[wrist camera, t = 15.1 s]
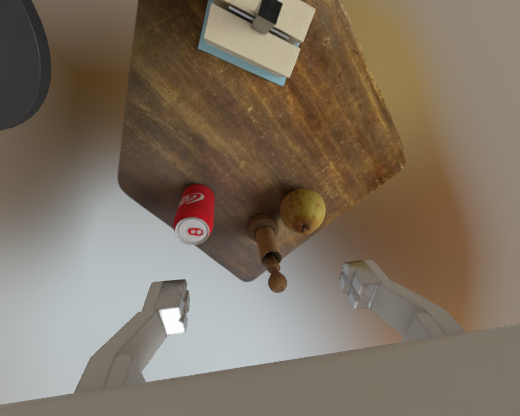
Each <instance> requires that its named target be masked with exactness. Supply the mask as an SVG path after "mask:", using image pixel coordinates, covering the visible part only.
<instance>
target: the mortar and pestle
mask: <svg viewBox="0 0 520 416" xmlns="http://www.w3.org/2000/svg"><path fill="white" fill-rule="evenodd" d="M248 232H249V236H250V238H251V239H252V240H253V241H255V242H257V244H258V249H259V253H260V259H261V263H262V264H263V265H264V266H265V267H267V270H268V272H269V273H271V275H270V278H269V280H268V285H269V287H270V289H271V290H272V291H273V292H276V293H280V292H282V291H284V290H285V288H286V286H287V280H286V278H285V276H284V275H282V274H281V273H280V272H279V270H280V265H279V263H280V262H281V259H282V256H281V253H280V250H279V247H278V244H277V241H276V238H275V237H276V236H277V235H278V232H279V227H278V224H277V221H276V219H275V218H274V217H273V216H272V215H269V214H259V215H256V216H254V217H253V218H252V219H251V220H250V222H249V224H248Z"/></svg>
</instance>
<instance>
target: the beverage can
mask: <svg viewBox="0 0 520 416" xmlns="http://www.w3.org/2000/svg"><path fill="white" fill-rule="evenodd" d="M214 202H215V197H214V194H213V192H212V191H211V190H210V189H209V188H208V187H206V186H204V185H201V184H194V185H191V186H189V187H187V188H186V189H185V190H184V192H183V194H182V198H181V201H180V204H179V207H178V210H177V213H176V216H175V219H174V223H173V227H174V231H175V234H176V236H177V238H178V239H179V240H180V241H181V242H183V243H185V244H188V245H197V244H201V243H203V242H204V241H205V240H206V239H207V238H208V236H209V235H210V234H211V232H212V230H213V219H214Z"/></svg>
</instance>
